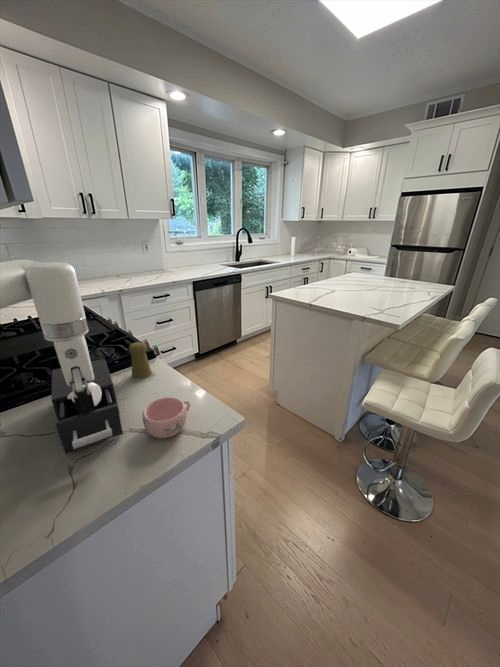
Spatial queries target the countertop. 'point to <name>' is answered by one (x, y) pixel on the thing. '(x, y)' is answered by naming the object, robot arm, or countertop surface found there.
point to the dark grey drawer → (88, 423)
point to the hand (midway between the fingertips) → (85, 401)
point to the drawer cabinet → (100, 378)
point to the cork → (139, 361)
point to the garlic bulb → (94, 391)
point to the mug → (165, 416)
